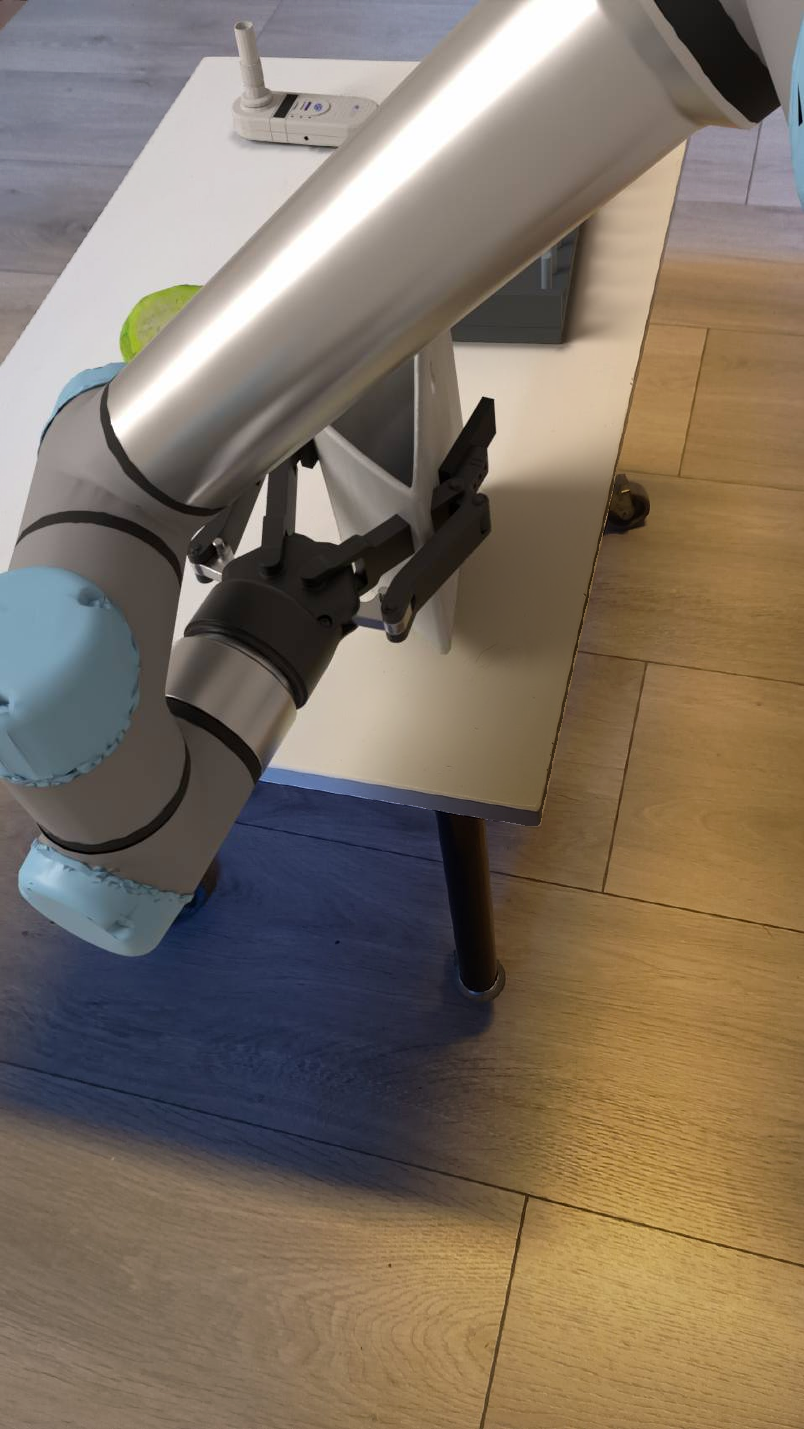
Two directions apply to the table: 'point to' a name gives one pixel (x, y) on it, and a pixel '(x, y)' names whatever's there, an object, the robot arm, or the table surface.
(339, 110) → the electronic device
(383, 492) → the planter
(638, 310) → the table surface
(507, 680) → the table surface
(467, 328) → the dish rack
